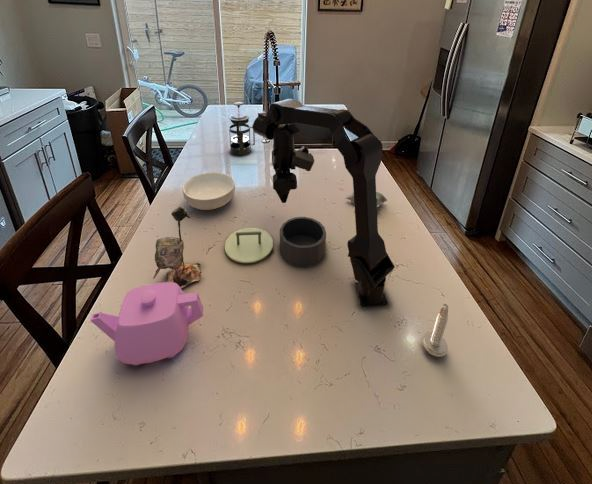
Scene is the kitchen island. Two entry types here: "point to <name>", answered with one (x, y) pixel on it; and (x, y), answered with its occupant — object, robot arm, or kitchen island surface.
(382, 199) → the packaged food
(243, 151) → the french press
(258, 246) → the lid
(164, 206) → the kitchen island surface
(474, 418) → the kitchen island surface
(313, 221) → the container
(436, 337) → the screw
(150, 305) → the teapot
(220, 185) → the cereal bowl
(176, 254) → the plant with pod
